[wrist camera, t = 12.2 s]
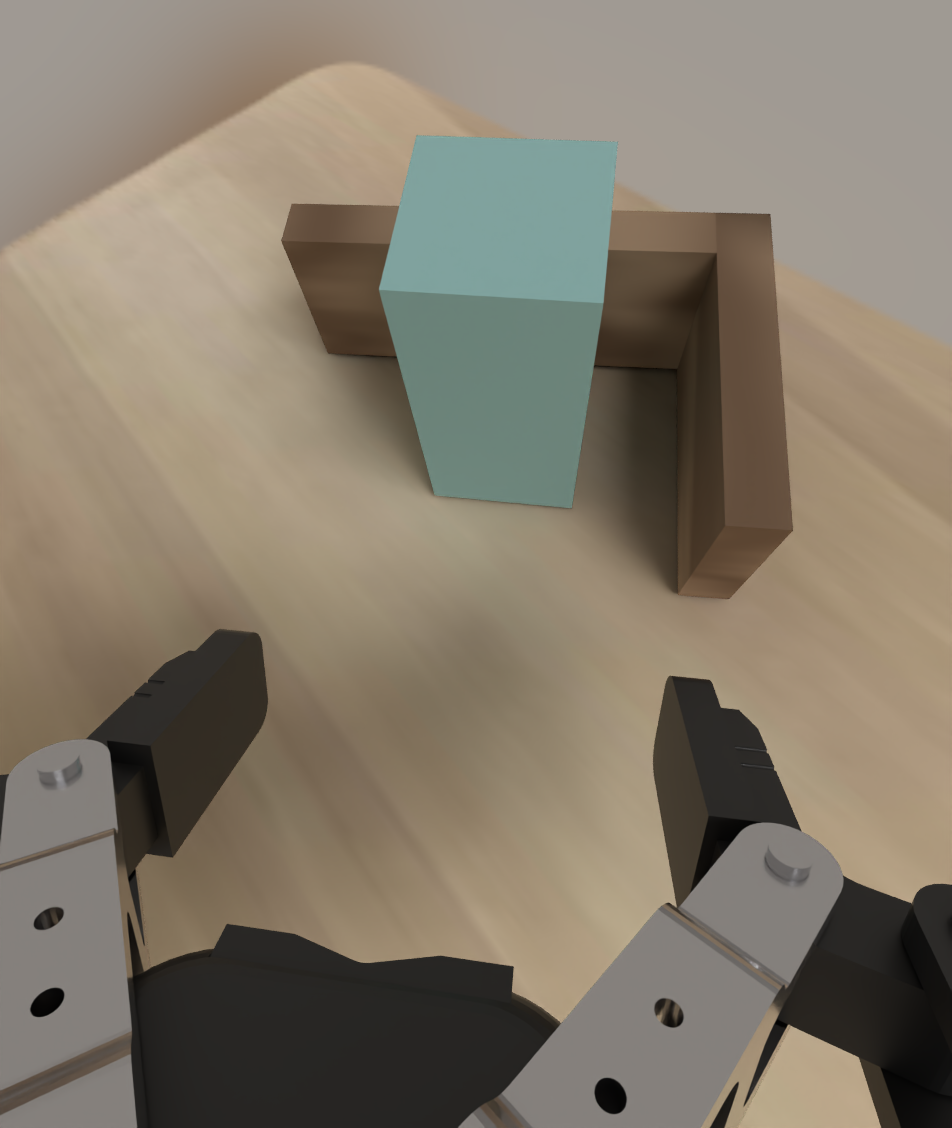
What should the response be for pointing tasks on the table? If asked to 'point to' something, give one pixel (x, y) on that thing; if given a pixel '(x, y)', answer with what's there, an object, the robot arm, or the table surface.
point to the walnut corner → (632, 356)
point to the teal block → (500, 308)
